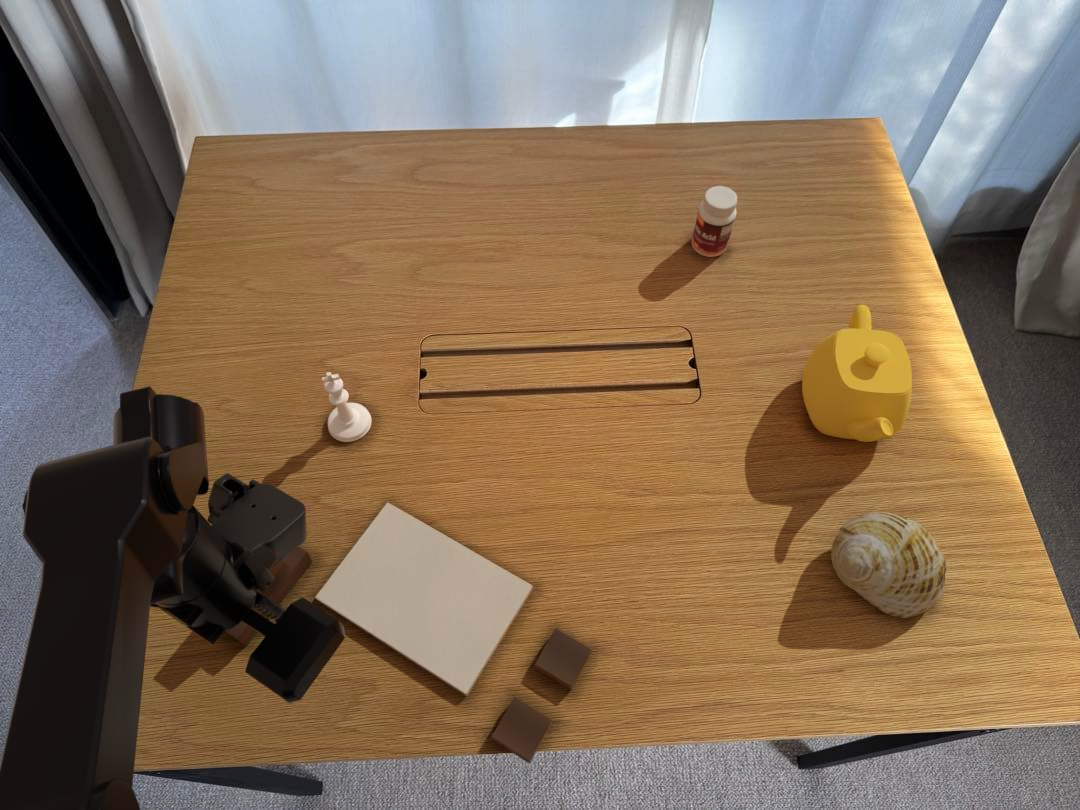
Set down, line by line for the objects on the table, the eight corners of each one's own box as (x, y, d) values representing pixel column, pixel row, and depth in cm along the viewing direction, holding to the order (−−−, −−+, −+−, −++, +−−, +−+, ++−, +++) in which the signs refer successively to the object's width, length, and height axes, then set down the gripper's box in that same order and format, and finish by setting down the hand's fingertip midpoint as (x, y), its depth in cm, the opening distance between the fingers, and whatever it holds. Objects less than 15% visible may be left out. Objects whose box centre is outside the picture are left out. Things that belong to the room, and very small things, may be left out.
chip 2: (571, 690, 72) (571, 687, 71) (534, 668, 73) (534, 664, 72) (591, 653, 74) (592, 649, 72) (555, 632, 75) (555, 627, 73)
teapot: (905, 486, 83) (949, 437, 74) (801, 477, 83) (831, 427, 74) (884, 352, 92) (920, 293, 83) (791, 344, 93) (817, 285, 84)
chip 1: (530, 764, 69) (529, 761, 67) (492, 739, 70) (491, 736, 68) (552, 722, 70) (552, 719, 69) (515, 699, 71) (514, 696, 70)
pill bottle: (683, 244, 102) (693, 196, 95) (707, 226, 104) (719, 178, 96) (710, 264, 100) (723, 216, 93) (734, 245, 102) (748, 197, 95)
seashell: (964, 599, 75) (968, 586, 67) (869, 634, 78) (860, 627, 70) (911, 506, 80) (909, 483, 72) (823, 542, 83) (810, 525, 74)
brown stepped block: (248, 647, 74) (222, 626, 68) (214, 624, 75) (186, 602, 70) (314, 562, 79) (295, 535, 73) (282, 541, 80) (260, 514, 74)
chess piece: (325, 411, 88) (301, 361, 80) (367, 400, 89) (348, 349, 81) (331, 447, 86) (308, 399, 77) (375, 435, 87) (356, 386, 78)
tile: (467, 696, 72) (466, 694, 71) (316, 600, 77) (314, 597, 76) (533, 589, 77) (533, 585, 76) (388, 505, 82) (387, 501, 81)
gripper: (368, 531, 52) (405, 607, 65) (170, 415, 57) (241, 507, 71) (257, 677, 47) (321, 728, 60) (50, 535, 52) (151, 610, 65)
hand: (258, 633), depth 64 cm, fingers open, 9 cm apart
